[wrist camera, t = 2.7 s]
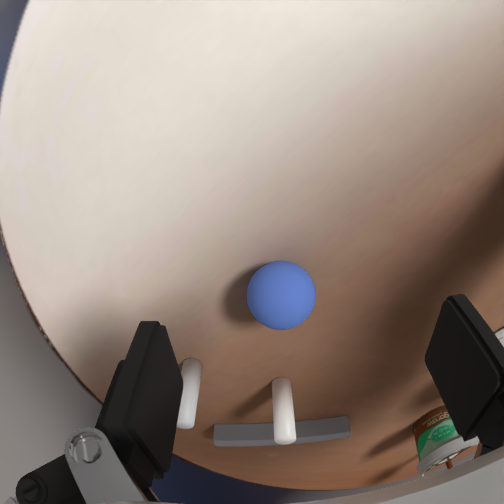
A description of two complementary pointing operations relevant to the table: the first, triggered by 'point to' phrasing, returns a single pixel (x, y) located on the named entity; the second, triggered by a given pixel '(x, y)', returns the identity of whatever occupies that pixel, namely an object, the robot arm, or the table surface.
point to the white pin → (283, 411)
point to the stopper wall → (265, 432)
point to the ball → (281, 295)
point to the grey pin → (189, 392)
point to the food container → (438, 439)
